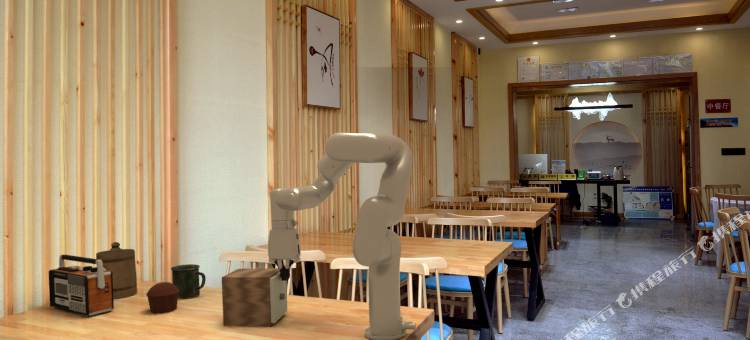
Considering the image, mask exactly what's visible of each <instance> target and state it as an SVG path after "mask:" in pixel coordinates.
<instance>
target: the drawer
mask: <svg viewBox="0 0 750 340" xmlns="http://www.w3.org/2000/svg"><path fill="white" fill-rule="evenodd" d="M287 287H288V286H287V281H285V280H284V281H282V278H280V272H279V273H277V274H276V275H274V276H273V277H271V278H270V305H271V323H274V324H275V323H277V322H278V319H279V320H280V319H281V318H282V317H283V316H284V315H285V314H286V313H288V288H287Z"/></svg>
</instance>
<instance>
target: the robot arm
mask: <svg viewBox="0 0 750 340" xmlns="http://www.w3.org/2000/svg"><path fill="white" fill-rule="evenodd" d="M324 150H325V154H324V155H323V156H322V157H321V158H320V159H319V160H318V161H317V163H316V164H317V165H316V168H317V170H318V172H319V175H318V177H317V178H316V179H315V180H314V181H312V183H310V185H307V186H306V185H305V186H297V187H291V188H290V187H278V188H272V189H271V190H270V192H269V199H270V200H269V203H270V205H269V206H270V219H271V221H270V222H271V229H270V230H269V232H268V241H267V243H268V244H267V253H268V254H267V256H268V263H270V264H274V265H275V266H276V267H277V269H280V278H282V281H284V280H285V281H286V282H287V281H289V279H290V278H291V267H292V266H293V264H296V263H299V262H301V253H302V252H301V243H300V235H299V231H298V228H297V227H296V226H298V225H299V221H298V220H295V213H294V212H295V211H296V212H298V211H304V210H310V209H314V208H316V207H319V206H320V205H321V204H323V202H325V201H326V200H327V198H328V197H330V196H331V195H332V193H333V192H334V190H335V189H336V187H337V183H338V180H339V179H341V177H342V176H343V175H345V173H346V172H347V171H348V170H350V168H352V167H353V166H354V165H355V164H356V163H361V164H362V163H363V164H385V167H384V170H383V171H382V172H383V173H382V174H381V178H380V179H379V188H378V192H377V194H376V195H375V196H374V195H373V196H371V197H368V198H367V199H366V200H365V201H363V203H362V204H361V206H360V208H359V210H358V213H357V218H356V219H357V220H356V225H355V230H354V234H353V239H352V240H353V242H352V254H353V257H354V259H355V261H356V262H357V264H359V265H360V266H363V267H367V268H368V271H367V286H368V287H367V288H368V289H367V291H368V318H369V322H368V323H369V327H366V329H364V336H365V337H366V338H367V339H368V340H369V339H370V340H399V339H402V338H404V337H405V336H406V335H407V330H410V331H412V330H413V331H414V330H415V331H416V330H417V323H416V322H413V321H405V320H403V319H404V318H403V316H402V315H401V314H402V313H401V312H402V311H401V289H400V288H401V286H400V285H401V283H400V282H401V279H400V274H401V273H400V272H401V271H400V267H401V265H400V264H401V257H402V256H401V255H402V242H401V239H400V237H399V234H397V233H396V232H395V231H394V230H391V229H389V228H390V227H393V226H396V225H398V224H399V223H400V222H401V221H402V219H403V217H404V215H405V208H406V207H405V206H406V202H407V198H408V192H409V191H408V190H409V184H410V181H411V176H412V171H413V160H414V158H413V154H412V151H411V149H410V147H409V146H408V144H407V143H406V142H405V140H403V139H402V138H400V137H399V136H397V135H392V134H387V133H361V132H360V133H359V132H358V133H356V132H355V133H353V132H335V133H333V134H331V135H330V136H329V137H327V140H326V142H325V146H324ZM403 336H404V337H403ZM401 337H402V338H401ZM398 338H399V339H398Z"/></svg>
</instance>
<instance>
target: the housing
mask: <svg viewBox="0 0 750 340" xmlns="http://www.w3.org/2000/svg"><path fill="white" fill-rule="evenodd" d="M279 272H280V269H279V268H237V269H234V270H233V271H231V272H229V273H227V274H225V275H224V276H222V277H221V294H222V295H221V297H222V299H221V300H222V301H221V302H222V322H223V324H222V325H223V327H248V328H249V327H255V328H257V327H259V328H260V327H262V328H263V327H264V328H265V327H266V328H267V327H270V328H271V327H272V326H273V325H274V324H275V323H271V305H270V278H271V277H273V276H274V275H276V274H277V273H279ZM278 320H280V319H278ZM278 320H277V321H278Z"/></svg>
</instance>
